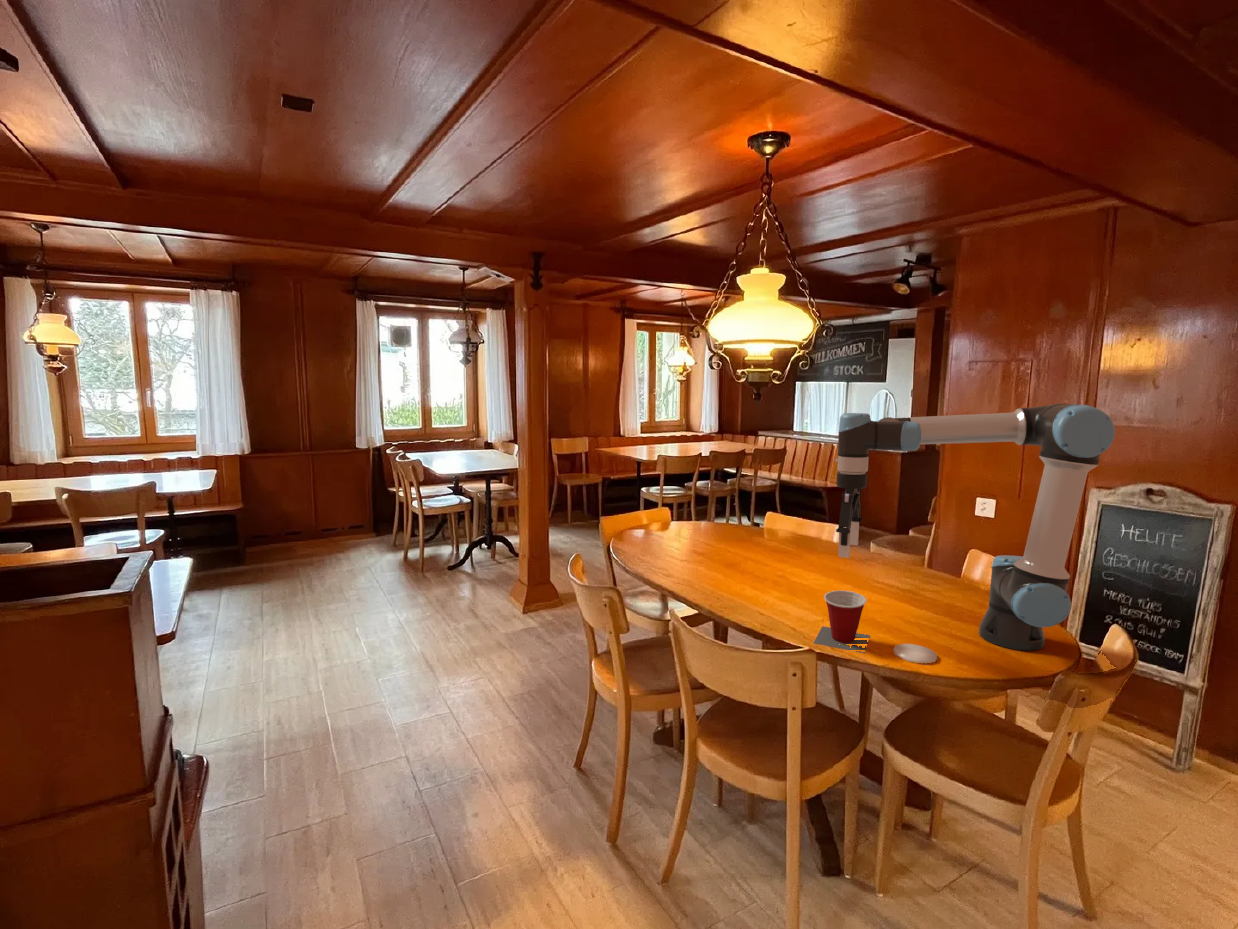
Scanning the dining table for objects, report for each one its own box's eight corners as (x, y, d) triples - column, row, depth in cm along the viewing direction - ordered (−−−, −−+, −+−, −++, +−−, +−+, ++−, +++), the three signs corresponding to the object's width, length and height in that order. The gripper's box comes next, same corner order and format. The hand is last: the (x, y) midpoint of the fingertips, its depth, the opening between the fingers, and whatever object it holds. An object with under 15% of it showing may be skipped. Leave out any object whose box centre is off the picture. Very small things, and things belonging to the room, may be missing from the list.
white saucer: (937, 653, 161) (937, 649, 161) (935, 669, 152) (936, 664, 152) (895, 645, 166) (895, 641, 166) (891, 659, 157) (892, 655, 157)
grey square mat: (870, 638, 171) (871, 635, 171) (864, 656, 160) (864, 653, 160) (822, 628, 177) (822, 626, 177) (813, 646, 166) (813, 643, 166)
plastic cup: (814, 638, 169) (816, 596, 167) (833, 627, 176) (835, 587, 174) (852, 651, 161) (855, 607, 159) (870, 639, 169) (873, 597, 167)
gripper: (845, 465, 175) (842, 538, 178) (827, 477, 153) (824, 560, 156) (873, 467, 171) (870, 541, 174) (859, 480, 150) (855, 565, 152)
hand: (848, 550), depth 165 cm, fingers open, 13 cm apart
